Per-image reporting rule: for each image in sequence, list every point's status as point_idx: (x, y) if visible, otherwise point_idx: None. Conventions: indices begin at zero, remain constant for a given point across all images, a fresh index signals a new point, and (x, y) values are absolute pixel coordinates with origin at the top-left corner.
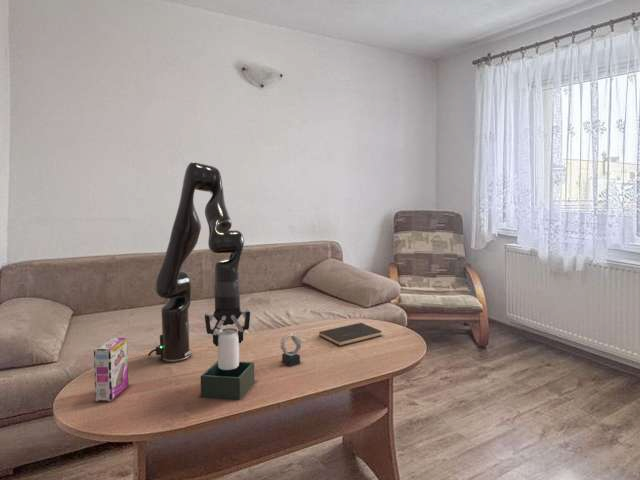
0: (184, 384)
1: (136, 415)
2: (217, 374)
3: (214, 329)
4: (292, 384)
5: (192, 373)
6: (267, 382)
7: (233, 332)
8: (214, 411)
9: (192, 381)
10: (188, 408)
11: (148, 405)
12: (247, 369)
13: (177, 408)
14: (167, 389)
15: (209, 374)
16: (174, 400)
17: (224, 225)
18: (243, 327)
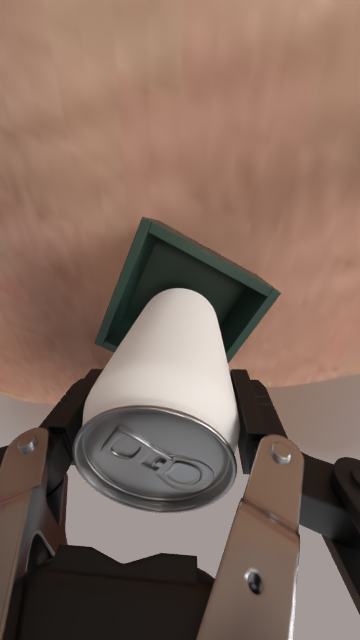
0: (62, 224)
1: (9, 351)
2: (150, 248)
3: (17, 472)
4: (349, 328)
5: (66, 125)
6: (291, 293)
7: (198, 479)
8: None
9: (80, 208)
10: (100, 358)
11: (14, 319)
12: (240, 346)
13: (78, 351)
14: (25, 245)
15: (121, 305)
16: (62, 314)
17: None
18: (306, 520)
